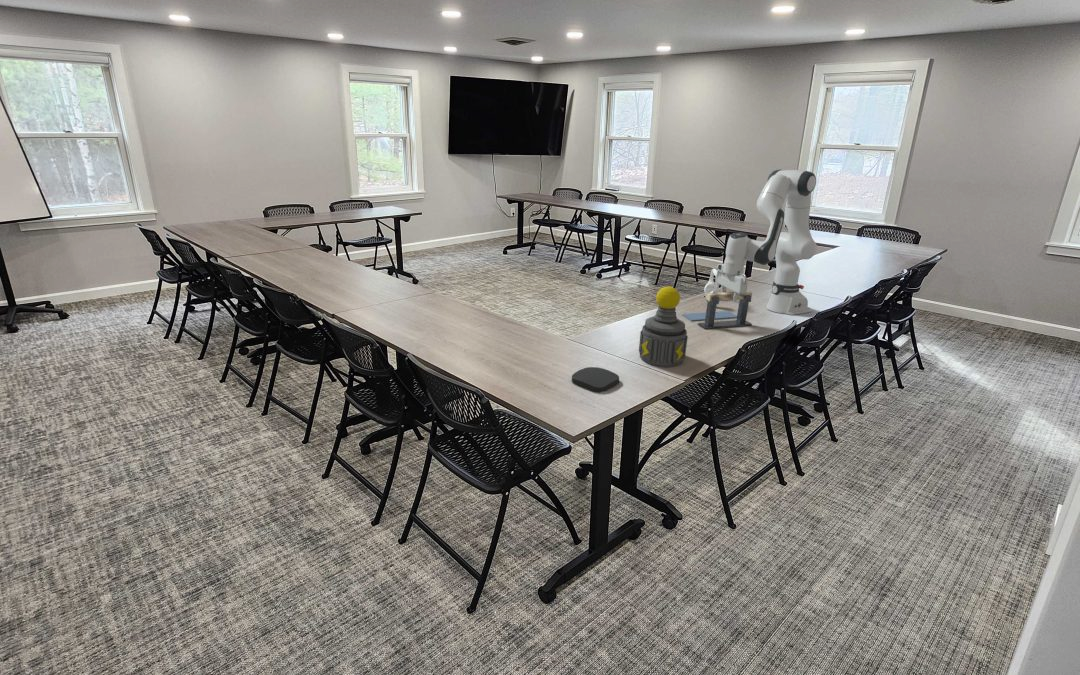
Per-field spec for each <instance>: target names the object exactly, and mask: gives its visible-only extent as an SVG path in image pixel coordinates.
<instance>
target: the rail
mask: <svg viewBox="0 0 1080 675" xmlns="http://www.w3.org/2000/svg"><path fill="white" fill-rule="evenodd" d="M745 295H751V296H753V292H751V291H749V290H747V292H746V293H745V294H740V295H739V296H738V297H737V301H740V300H741V299H744V297H745ZM733 296H734V291H726V292H722V291H721V292H720V293H707V296H706V297H705V301H706V300H708V301H712V297H719V301H720V302H722V301H733V300H732V297H733ZM708 301H707V302H708Z"/></svg>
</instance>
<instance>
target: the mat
mask: <svg viewBox="0 0 1080 675" xmlns="http://www.w3.org/2000/svg"><path fill="white" fill-rule="evenodd" d="M681 315H682V316H683V317H684V318H686V319H687V320H689V321H690V322H699V321H700V322H701V321H705V317H706V312H695V313H694V312H693V313H682V314H681ZM726 319H727V320H728V319H737V314H734V313H733V312H731V311H730V310H723V311H716V312H715V319H714V321H715V320H726Z"/></svg>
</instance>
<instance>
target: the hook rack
mask: <svg viewBox="0 0 1080 675" xmlns="http://www.w3.org/2000/svg"><path fill="white" fill-rule="evenodd" d="M752 296H753V295H752ZM752 296H751V295H745V297H744V299H741V300H738V301H739V302H738V307H737V308H738V309H737V314H736V316H737V318H735V320H720V321H715V320H716V319H715V312H717V306H718V305H719V304H720V302H719V297H712V301H708V300H706V299H705V301H706V302H707V303H706V311H705V313H706V317H705V320H704V322H698V323H697V326H699V327H700V328H701V329H703V330H712V329H713V330H714V329H725V328H739V327H740V328H741V327H751V326H752V324H753V323H751V322H749V321H748V320H747V316H748V309H749V303H751V302H752ZM714 319H715V320H714Z"/></svg>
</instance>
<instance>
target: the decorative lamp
mask: <svg viewBox="0 0 1080 675" xmlns="http://www.w3.org/2000/svg"><path fill="white" fill-rule="evenodd" d="M655 300H656V305H658V307H657V310H656V314H655V315H654V316H651V317H648V318H647V319H645V321H644V322H645V323H644V325H643V326H642V328H641V331H640V336H639V344H638V345H639V347H638V352H639V357H640V359H641V360H642V361H643V362H645V363H647V364H649V365H652V366H656V367H663V366H664V368H665V367H676V366H678V365H681V364H682V363H683V362H684V359H685V357H686V354H687V352H686V351H687V345H688V344H687V343H688V338H689V337H688V335H687V334H688V331H687V330H686V323H685V322H684V321H683V320H682V319H679V318H678V316H677V311H676V307H677V306H678V305H679V304H680V301H681V295H680V292H679V291H678V290H677V289H676V288H674V287H673V286H664V287H661V288H660V289H659V290H658V291H657V294H656V297H655Z"/></svg>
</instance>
